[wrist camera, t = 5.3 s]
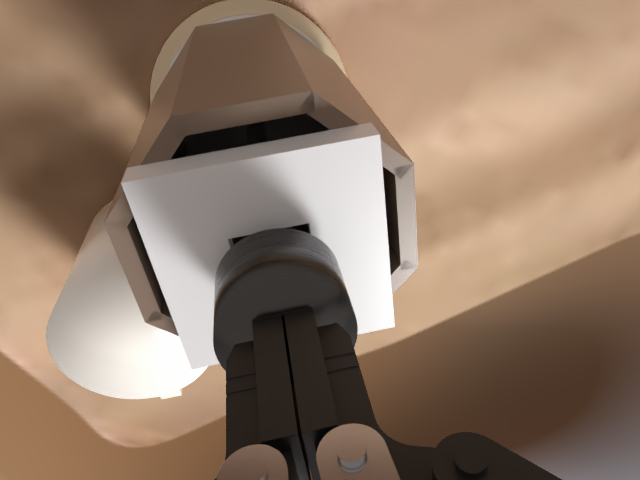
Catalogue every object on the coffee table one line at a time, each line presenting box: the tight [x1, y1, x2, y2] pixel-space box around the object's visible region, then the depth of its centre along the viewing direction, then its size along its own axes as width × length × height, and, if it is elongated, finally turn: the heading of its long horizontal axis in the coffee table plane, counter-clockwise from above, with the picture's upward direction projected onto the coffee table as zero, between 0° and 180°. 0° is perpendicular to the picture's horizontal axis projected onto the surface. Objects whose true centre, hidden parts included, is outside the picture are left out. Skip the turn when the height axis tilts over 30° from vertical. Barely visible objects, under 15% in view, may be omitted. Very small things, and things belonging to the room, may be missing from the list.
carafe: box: [104, 0, 418, 369], centre depth 23 cm, size 11×13×16 cm
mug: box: [46, 200, 208, 399], centre depth 30 cm, size 8×10×9 cm
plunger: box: [213, 121, 358, 370], centre depth 20 cm, size 4×4×17 cm
